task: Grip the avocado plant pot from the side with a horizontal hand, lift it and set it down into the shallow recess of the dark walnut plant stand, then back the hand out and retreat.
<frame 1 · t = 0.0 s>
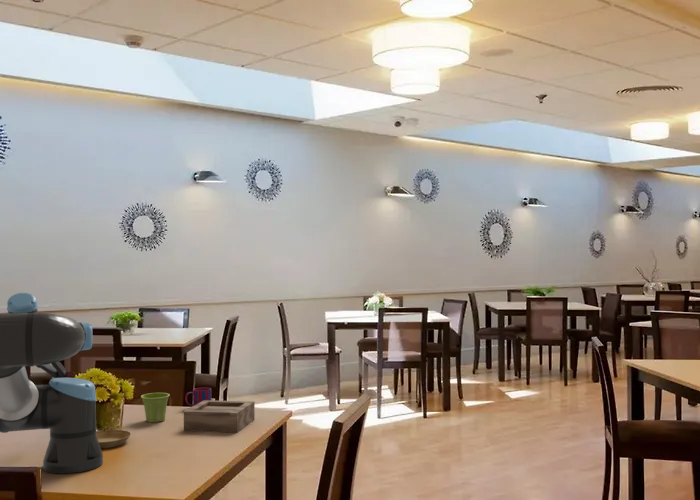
hand: (30, 393, 222), 15 cm above the table, tool tilted 35°, fingers open, 13 cm apart
plant saucer: (105, 444, 222), on the table
walnut plant stand: (220, 425, 245), on the table
plant pot: (155, 421, 252), on the table
mug: (198, 408, 272), on the table
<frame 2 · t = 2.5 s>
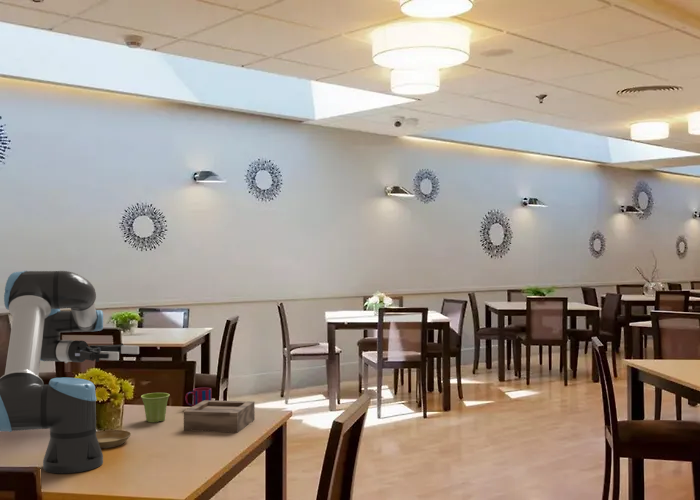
hand: (128, 353, 254), 23 cm above the table, tool horizontal, fingers open, 13 cm apart
nothing on the table moved.
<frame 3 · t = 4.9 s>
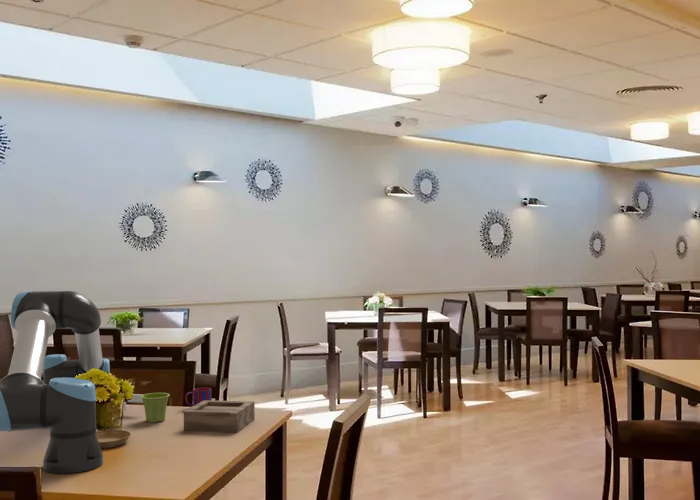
hand: (135, 402, 254), 6 cm above the table, tool horizontal, fingers open, 13 cm apart
nothing on the table moved.
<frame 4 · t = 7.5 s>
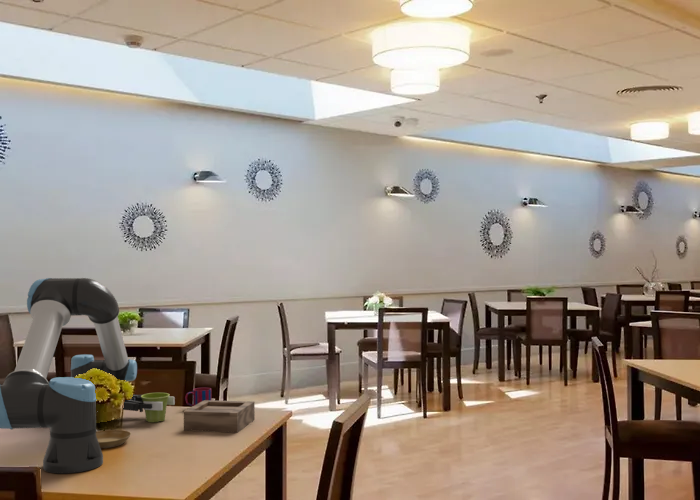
hand: (168, 403, 251), 6 cm above the table, tool horizontal, fingers closed on plant pot, 8 cm apart
plant pot: (155, 421, 252), on the table, touching gripper
everything else where it was.
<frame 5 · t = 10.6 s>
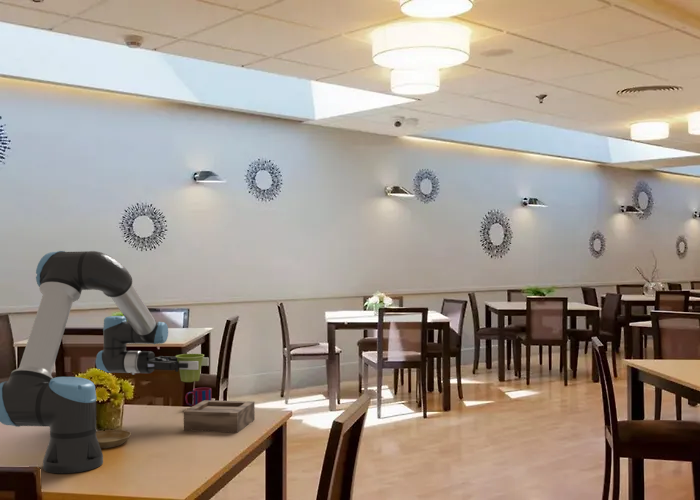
hand: (203, 363, 249), 20 cm above the table, tool horizontal, fingers closed on plant pot, 8 cm apart
plant pot: (190, 381, 250), point 14 cm above the table, touching gripper
everything else where it was.
when the fingers open (12 cm above the table, at t = 13.8 s): plant pot drops 1 cm, resting on walnut plant stand.
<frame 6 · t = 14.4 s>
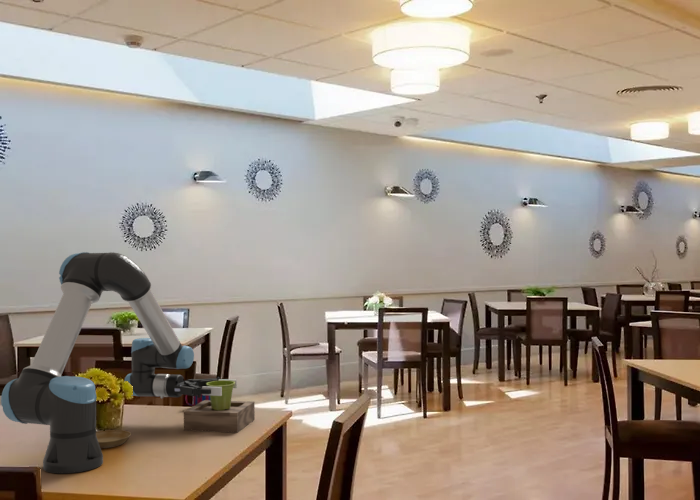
hand: (229, 387, 244), 12 cm above the table, tool horizontal, fingers open, 13 cm apart
plant pot: (220, 409, 246), point 5 cm above the table, touching walnut plant stand
everything else where it was.
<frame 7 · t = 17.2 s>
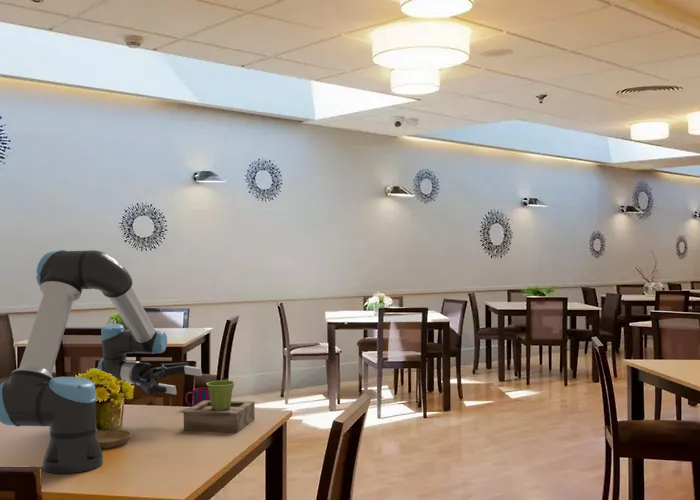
hand: (188, 380, 242), 15 cm above the table, tool horizontal, fingers open, 13 cm apart
nothing on the table moved.
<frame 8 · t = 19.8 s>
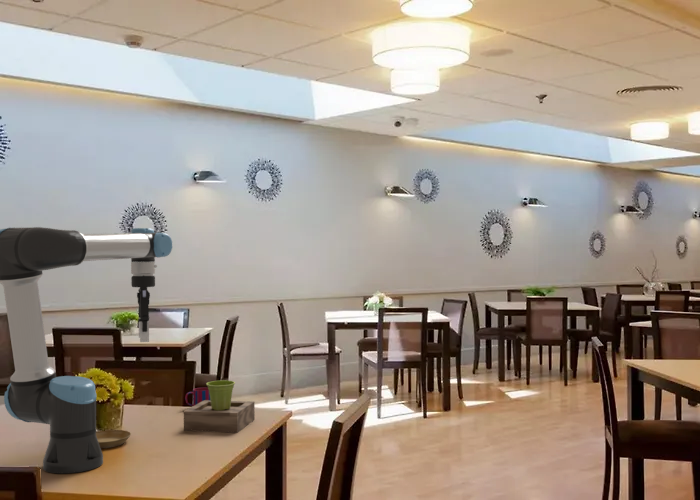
hand: (143, 339, 243), 29 cm above the table, tool pointing down, fingers open, 13 cm apart
nothing on the table moved.
at the end: plant pot inside the target area on the walnut plant stand (1.6 cm from its centre), point 4.8 cm above the walnut plant stand's base; plant pot tilted 0°; the gripper is holding nothing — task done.
